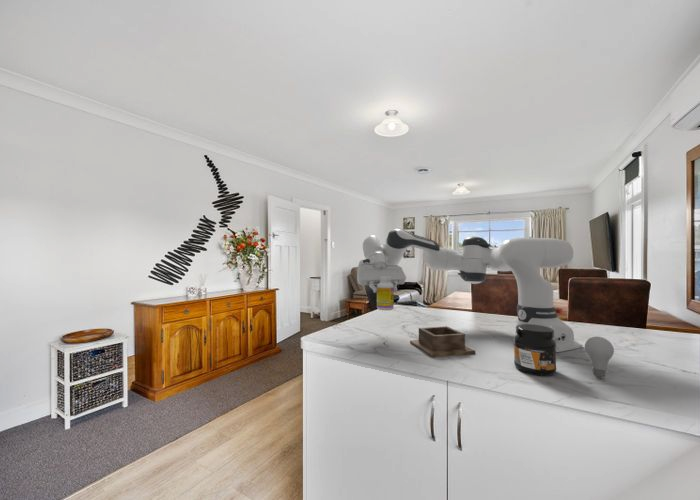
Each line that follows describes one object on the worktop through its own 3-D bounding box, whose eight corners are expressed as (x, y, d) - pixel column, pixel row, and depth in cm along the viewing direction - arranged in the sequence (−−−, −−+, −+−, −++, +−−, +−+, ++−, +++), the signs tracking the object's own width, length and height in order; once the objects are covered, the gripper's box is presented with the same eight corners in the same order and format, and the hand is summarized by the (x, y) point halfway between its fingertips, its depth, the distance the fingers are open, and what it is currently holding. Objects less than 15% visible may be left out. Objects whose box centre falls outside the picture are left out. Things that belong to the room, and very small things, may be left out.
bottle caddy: (448, 340, 118) (448, 324, 118) (475, 353, 103) (475, 335, 103) (410, 343, 114) (410, 326, 115) (431, 357, 99) (431, 338, 99)
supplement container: (521, 375, 85) (521, 331, 85) (508, 362, 95) (508, 323, 95) (564, 378, 83) (564, 333, 83) (546, 364, 93) (546, 324, 93)
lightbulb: (579, 373, 86) (579, 334, 86) (599, 373, 86) (599, 333, 87) (598, 383, 80) (598, 340, 80) (620, 382, 80) (620, 340, 80)
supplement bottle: (393, 311, 119) (393, 277, 119) (375, 310, 120) (375, 277, 120) (394, 308, 126) (394, 276, 126) (377, 307, 127) (377, 276, 127)
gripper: (398, 270, 137) (407, 295, 127) (353, 270, 132) (359, 297, 122) (402, 260, 132) (412, 285, 123) (356, 260, 127) (362, 287, 118)
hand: (385, 291), depth 122 cm, fingers closed on supplement bottle, 7 cm apart
